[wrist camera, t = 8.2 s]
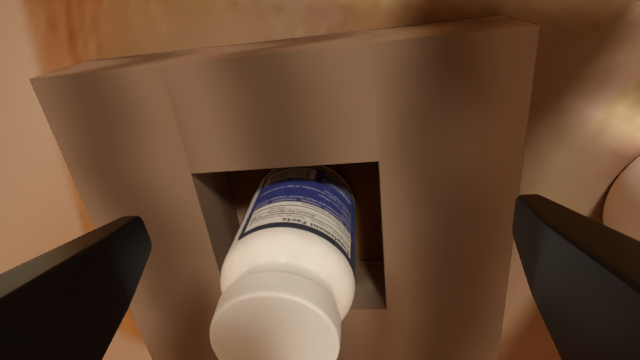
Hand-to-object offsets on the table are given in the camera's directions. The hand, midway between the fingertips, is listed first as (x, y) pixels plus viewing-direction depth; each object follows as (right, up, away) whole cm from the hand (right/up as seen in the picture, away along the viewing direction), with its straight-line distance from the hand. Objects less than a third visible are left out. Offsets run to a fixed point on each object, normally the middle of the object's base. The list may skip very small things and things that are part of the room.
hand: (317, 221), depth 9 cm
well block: (-1, 0, +13) cm, 13 cm away
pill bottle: (-1, 0, +13) cm, 13 cm away
